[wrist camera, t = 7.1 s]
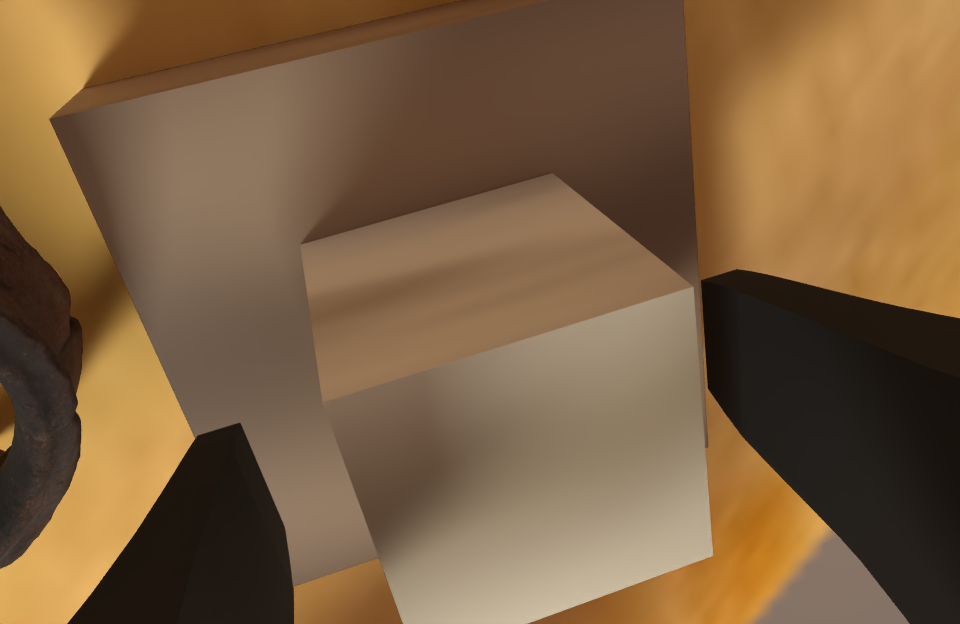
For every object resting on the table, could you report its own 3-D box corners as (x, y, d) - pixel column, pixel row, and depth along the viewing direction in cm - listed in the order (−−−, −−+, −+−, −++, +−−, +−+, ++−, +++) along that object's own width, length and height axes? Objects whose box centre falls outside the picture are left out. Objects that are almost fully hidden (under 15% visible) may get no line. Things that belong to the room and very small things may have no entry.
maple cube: (586, 383, 16) (712, 556, 11) (370, 452, 15) (417, 663, 11) (552, 173, 13) (694, 286, 9) (300, 244, 13) (322, 402, 9)
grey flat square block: (648, 380, 20) (708, 447, 17) (264, 502, 19) (266, 595, 16) (607, -38, 15) (681, -32, 13) (87, 83, 14) (48, 118, 11)
